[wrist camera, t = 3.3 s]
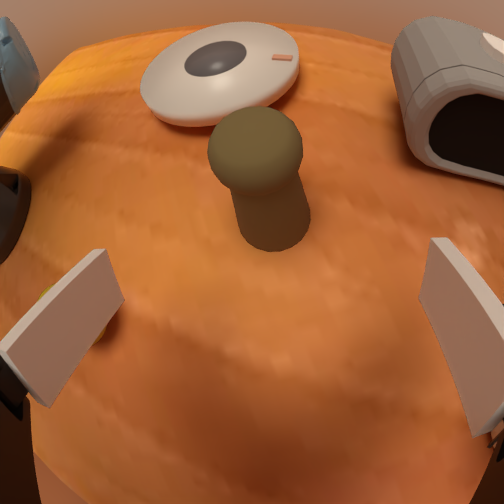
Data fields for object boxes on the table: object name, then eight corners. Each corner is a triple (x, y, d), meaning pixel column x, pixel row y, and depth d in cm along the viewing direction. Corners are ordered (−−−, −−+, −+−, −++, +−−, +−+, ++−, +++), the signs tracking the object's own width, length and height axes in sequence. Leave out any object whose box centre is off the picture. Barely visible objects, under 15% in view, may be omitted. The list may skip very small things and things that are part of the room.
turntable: (121, 126, 28) (112, 114, 26) (184, 37, 33) (179, 26, 30) (279, 134, 24) (276, 117, 22) (310, 35, 28) (309, 21, 26)
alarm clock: (391, 169, 23) (433, 51, 11) (382, 99, 26) (399, -6, 13) (542, 203, 19) (608, 142, 7) (522, 137, 22) (567, 69, 9)
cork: (234, 192, 25) (191, 105, 15) (302, 179, 25) (295, 82, 14) (242, 258, 23) (193, 192, 13) (317, 244, 23) (324, 166, 12)
